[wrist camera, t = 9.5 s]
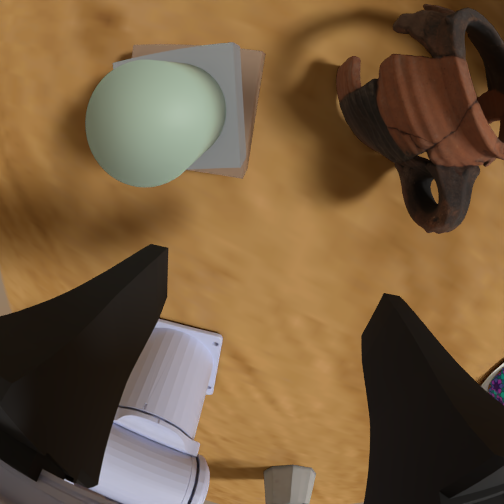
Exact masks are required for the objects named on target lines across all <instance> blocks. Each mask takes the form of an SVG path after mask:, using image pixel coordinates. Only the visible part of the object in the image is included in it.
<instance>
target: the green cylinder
mask: <svg viewBox="0 0 504 504" xmlns="http://www.w3.org/2000/svg"><path fill="white" fill-rule="evenodd" d="M225 119H226V102H225V97H224V95H223V92H222V90H221V88H220V86H219V84H218V83H217V81H216V80H215V79H214V78H213V77H212V76H211V75H210V74H209V73H207V72H206V71H205V70H203V69H201V68H199V67H197V66H194V65H191V64H186V63H177V62H168V61H158V60H136V61H131V62H128V63H125V64H123V65H121V66H119V67H117V68H115V69H114V70H112V71H111V72H110V73H108V74H107V75H106V76H105V77H104V78H103V79H102V80H101V81H100V83H99V84H98V85H97V87H96V88H95V90H94V92H93V94H92V96H91V98H90V101H89V104H88V107H87V112H86V121H85V126H86V136H87V140H88V144H89V147H90V149H91V152H92V154H93V155H94V157H95V159H96V160H97V162H98V163H99V165H100V166H101V167H102V168H103V169H104V170H105V171H106V172H107V173H108V174H109V175H110V176H112V177H113V178H115V179H116V180H118V181H120V182H122V183H125V184H128V185H131V186H136V187H154V186H159V185H162V184H165V183H168V182H170V181H172V180H174V179H175V178H177V177H178V176H180V175H181V174H182V173H183V172H184V171H185V170H186V169H187V168H188V167H189V166H191V165H192V164H193V163H194V162H195V161H196V160H197V159H198V158H199V157H200V156H201V155H202V154H203V153H204V152H206V151H207V150H208V149H209V148H210V147H211V146H212V145H213V144H214V143H215V142H216V140H217V139H218V137H219V136H220V134H221V132H222V130H223V127H224V124H225Z"/></svg>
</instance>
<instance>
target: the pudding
mask: <svg viewBox="0 0 504 504" xmlns="http://www.w3.org/2000/svg"><path fill="white" fill-rule="evenodd" d="M503 367H504V363H503V364H502V365H500V366H499V367H498V368H497V369H496V370H495V371H494V372H493V373H492V374H491V375H490V376H489V377H488V378H487V379H486V380H485V381H484V383H483V384H482V385H481V387H482V388H483V389H485V390H486V391H487V392H488V386H489V383H490V382H491V383H490V385H491V387H490V388H489V393H490V395H492V396H493V397H494V398H495V399H496V400H498V401H499V402H500V403H501V404H503V405H504V368H503ZM502 368H503V369H502ZM501 369H502V370H501ZM500 370H501V372H500V374H498V375H497V376H495V375H496V374H497V373H498V372H499V371H500ZM494 376H495V377H494ZM493 377H494V378H493ZM491 380H492V381H491Z"/></svg>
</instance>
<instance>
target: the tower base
mask: <svg viewBox="0 0 504 504" xmlns="http://www.w3.org/2000/svg"><path fill="white" fill-rule="evenodd" d="M196 46H202V45H171V44H155V45H133V53H132V58H135V57H140V56H144V55H149V54H154V53H159V52H165V51H170V50H176V49H182V48H189V47H196ZM240 56H241V74H242V91H243V108H244V126H245V143H246V159H245V161H244V162H243V164H242V166H241V168H212V169H190V170H191V171H198V172H204V173H211V174H217V175H224V176H230V177H236V178H242V179H243V177H244V175H245V173H246V170H247V168H248V161H249V155H250V148H251V142H252V135H253V129H254V122H255V116H256V110H257V103H258V97H259V91H260V85H261V79H262V73H263V66H264V60H265V53H264V52H263V51H256V50H248V49H240Z"/></svg>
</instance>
